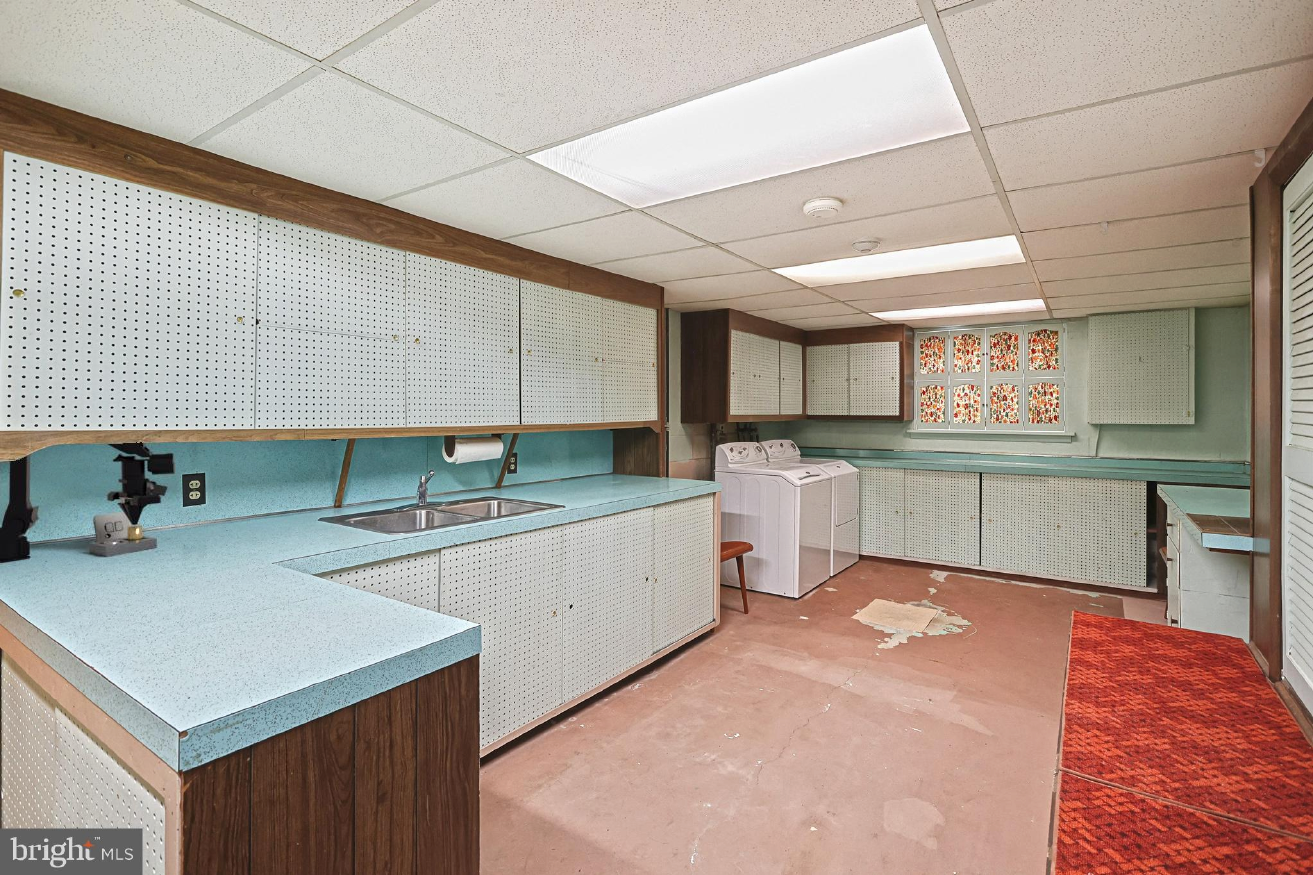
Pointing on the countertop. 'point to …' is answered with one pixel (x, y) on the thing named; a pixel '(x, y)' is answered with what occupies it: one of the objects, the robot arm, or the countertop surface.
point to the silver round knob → (111, 542)
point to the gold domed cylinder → (134, 533)
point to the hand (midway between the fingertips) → (134, 524)
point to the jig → (122, 546)
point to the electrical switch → (111, 526)
